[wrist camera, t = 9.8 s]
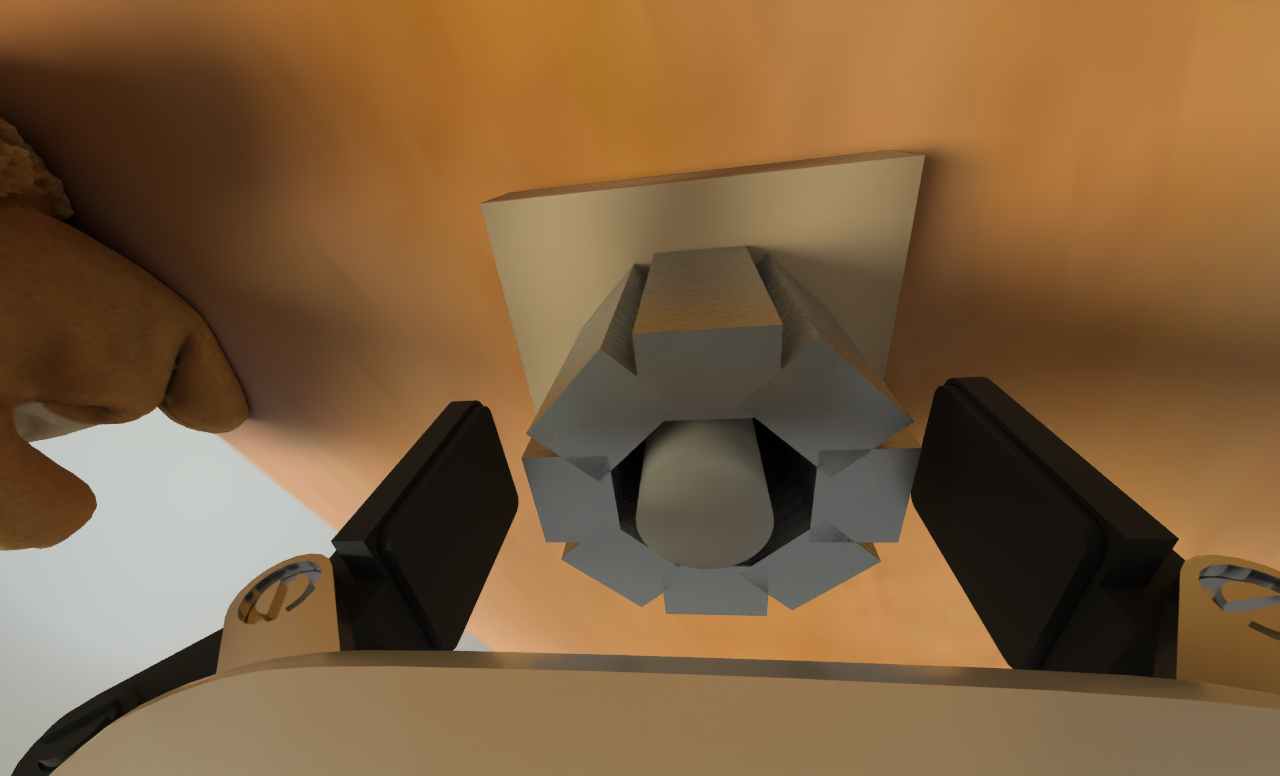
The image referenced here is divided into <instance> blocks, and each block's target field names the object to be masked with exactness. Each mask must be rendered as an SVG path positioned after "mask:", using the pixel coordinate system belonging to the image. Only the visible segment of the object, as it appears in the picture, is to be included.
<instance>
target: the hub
mask: <svg viewBox="0 0 1280 776" xmlns="http://www.w3.org/2000/svg"><path fill="white" fill-rule="evenodd" d="M737 418H752V419H753V424H754V429H755V433H756V438H757V442H758V447H759V451H760V456H761V461H762V465H763V470H764V474H765V479H766V483H767V488H768V493H769V497H770V502H771V506H772V511H773V516H774V526H773V531H772V534H771V537H770V538H769V540H768V542H767V543H766V545H765V546H764V547H763V548H762V549H761V550H760V551H759V552H758V553H757V554H755V555H754V556H753V557H751V558H749V559H747V560H746V561H743V562H741V563H739V564H736V565H733V566H729V567H724V568H717V569H696V568H689V567H685V566H681V565H677V564H674V563H672V562H670V561H667V560H665V559H664V558H662V557H660V556H659V555H657V554H656V553H654V552H653V551H652V550H651V549H650V548H649V547H648V546H647V545H646V544H645V543H644V541H643V540H642V538H641V537H640V534H639V532H638V529H637V525H636V511H637V504H638V497H639V489H640V482H641V474H642V467H643V459H644V452H645V445H646V437H647V436H648V435H649V434H651V433H652V432H653V431H654V430H655V429H656V428H657V427H658V426H659V425H660V424H661V423H662V422H663V421H679V420H708V419H737ZM913 422H914V421H913V420H912V419H911V417H910V416H909V415H908V413H907V412H906V411H905V409H904V408H903V407H902V405H901V404H900V403H899V402H898V400H897V399H896V398H895V396H894V395H893V394H892V392H891V391H890V390H889V388H888V387H887V386H886V385H885V383H884V382H883V381H882V379H881V378H880V377H879V375H878V374H877V373H876V371H875V370H874V369H873V367H872V366H871V365H870V364H869V362H868V361H867V360H866V358H865V357H864V356H863V354H862V353H861V352H860V350H859V349H858V348H857V347H856V345H855V344H854V343H853V341H852V340H851V339H850V337H849V336H848V335H847V333H846V332H845V331H844V329H843V328H842V327H841V326H840V324H839V323H838V322H837V320H836V319H835V318H834V316H833V315H832V314H831V312H830V311H829V310H828V309H827V308H826V307H825V306H824V305H823V304H822V303H821V302H820V301H819V300H817V299H816V298H815V297H814V296H813V295H812V294H811V293H810V292H809V291H808V290H807V289H806V288H805V287H804V286H802V285H801V284H800V283H799V282H798V281H797V280H796V279H795V278H794V277H793V276H792V275H791V274H790V273H789V272H788V271H786V270H785V269H784V268H783V267H782V266H781V265H780V264H779V263H778V262H777V261H776V260H775V259H774V258H773V257H771V256H770V255H769V254H768V253H767V254H766V255H765V256H764V257H763V258H762V259H761V260H760V261H759V262H758V263H757V264H756V265H754V263H753V261H752V258H751V256H750V254H749V252H748V250H747V248H746V246H745V245H744V246H732V247H720V248H708V249H696V250H684V251H673V252H661V253H654V255H653V258H652V262H651V266H650V269H649V273H648V275H647V274H646V273H644V272H643V271H642V270H641V269H640V268H638V267H637V266H636V265H635V264H633V265H632V266H631V268H630V269H629V270H628V271H627V273H626V274H625V275H624V276H623V278H622V279H621V280H620V281H619V282H618V284H617V285H616V286H615V287H614V289H613V290H612V291H611V292H610V294H609V295H608V296H607V297H606V298H605V300H604V301H603V302H602V303H601V305H600V306H599V307H598V308H597V310H596V311H595V312H594V313H593V314H592V316H591V317H590V318H589V319H588V321H587V322H586V323H585V324H584V326H583V327H582V329H581V331H580V333H579V335H578V337H577V339H576V341H575V343H574V344H573V346H572V348H571V350H570V352H569V354H568V356H567V358H566V360H565V362H564V363H563V365H562V367H561V369H560V371H559V373H558V375H557V377H556V379H555V381H554V382H553V384H552V386H551V388H550V390H549V392H548V394H547V396H546V398H545V400H544V401H543V403H542V405H541V407H540V409H539V411H538V413H537V415H536V417H535V419H534V420H533V422H532V424H531V426H530V428H529V430H528V432H527V435H529V436H530V437H532V438H531V440H530V442H529V444H528V446H527V448H526V450H525V452H524V454H523V456H522V461H523V465H524V468H525V472H526V475H527V478H528V482H529V485H530V489H531V492H532V495H533V499H534V502H535V505H536V509H537V512H538V516H539V519H540V522H541V526H542V529H543V533H544V536H545V539H546V542H566V545H565V549H564V552H563V556H562V559H561V560H563V561H565V562H567V563H568V564H570V565H572V566H573V567H575V568H577V569H578V570H580V571H582V572H583V573H585V574H587V575H588V576H590V577H592V578H594V579H595V580H597V581H599V582H600V583H602V584H604V585H605V586H607V587H609V588H610V589H612V590H614V591H616V592H617V593H619V594H621V595H622V596H624V597H626V598H627V599H629V600H631V601H632V602H634V603H636V604H637V605H639V606H641V607H643V606H644V605H646V604H647V603H649V602H650V601H652V600H653V599H654V598H656V597H657V596H659V595H660V594H662V593H663V592H664V601H665V609H666V614H704V615H749V616H767V603H768V594H769V595H770V596H772V597H773V598H775V599H776V600H778V601H779V602H781V603H782V604H784V605H785V606H787V607H788V608H790V609H791V610H794V609H795V608H797V607H799V606H801V605H803V604H804V603H806V602H808V601H810V600H812V599H814V598H815V597H817V596H819V595H821V594H823V593H825V592H826V591H828V590H830V589H832V588H834V587H835V586H837V585H839V584H841V583H843V582H845V581H846V580H848V579H850V578H852V577H854V576H855V575H857V574H859V573H861V572H863V571H865V570H866V569H868V568H870V567H872V566H874V565H876V564H877V563H879V562H881V560H880V558H879V556H878V554H877V551H876V549H875V547H874V545H873V542H898V540H899V536H900V532H901V528H902V524H903V521H904V517H905V513H906V509H907V505H908V501H909V497H910V493H911V489H912V485H913V481H914V477H915V473H916V469H917V465H918V461H919V458H920V454H921V450H922V447H921V446H920V445H919V443H918V442H917V441H916V439H915V438H914V436H913V435H912V434H911V432H910V431H909V430H908V428H907V426H908V425H910V424H911V423H913Z"/></svg>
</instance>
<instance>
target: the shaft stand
mask: <svg viewBox="0 0 1280 776" xmlns="http://www.w3.org/2000/svg"><path fill="white" fill-rule="evenodd" d="M924 159H925V155H922V154H914V153H905V152H897V151H880V152H871V153H862V154H853V155H844V156H835V157H826V158H817V159H808V160H799V161H790V162H781V163H773V164H764V165H755V166H746V167H737V168H728V169H719V170H710V171H701V172H692V173H683V174H674V175H665V176H656V177H647V178H638V179H629V180H620V181H611V182H602V183H593V184H584V185H575V186H566V187H557V188H549V189H540V190H531V191H522V192H513V193H507V194H504V195H502V196H499V197H496V198H493V199H491V200H488V201H485V202H483V203H480V206H481V210H482V214H483V217H484V221H485V225H486V229H487V232H488V236H489V240H490V244H491V248H492V251H493V255H494V259H495V263H496V266H497V270H498V274H499V278H500V281H501V285H502V289H503V293H504V297H505V300H506V304H507V308H508V312H509V315H510V319H511V323H512V327H513V330H514V334H515V338H516V342H517V346H518V349H519V353H520V357H521V361H522V364H523V368H524V372H525V376H526V379H527V383H528V387H529V391H530V395H531V398H532V402H533V406H534V410H535V413H536V415H537V413H538V411H539V409H540V407H541V405H542V403H543V401H544V400H545V398H546V396H547V394H548V392H549V390H550V388H551V386H552V384H553V382H554V381H555V379H556V377H557V375H558V373H559V371H560V369H561V367H562V365H563V363H564V362H565V360H566V358H567V356H568V354H569V352H570V350H571V348H572V346H573V344H574V343H575V341H576V339H577V337H578V335H579V333H580V331H581V329H582V327H583V326H584V324H585V323H586V322H587V321H588V319H589V318H590V317H591V316H592V314H593V313H594V312H595V311H596V310H597V308H598V307H599V306H600V305H601V303H602V302H603V301H604V300H605V298H606V297H607V296H608V295H609V294H610V292H611V291H612V290H613V289H614V287H615V286H616V285H617V284H618V282H619V281H620V280H621V279H622V278H623V276H624V275H625V274H626V273H627V271H628V270H629V269H630V268H631V266H632V265H633V264H635V265H636V266H637V267H638V268H640V269H641V270H642V271H643V272H644V273H646V274H647V275H648V273H649V269H650V266H651V262H652V258H653V255H654V253H661V252H673V251H684V250H696V249H708V248H720V247H732V246H744V245H745V246H746V248H747V250H748V252H749V254H750V256H751V258H752V261H753V263H754V265H756V264H757V263H758V262H759V261H760V260H761V259H762V258H763V257H764V256H765V255H766V254H767V253H768V254H769V255H770V256H771V257H773V258H774V259H775V260H776V261H777V262H778V263H779V264H780V265H781V266H782V267H783V268H784V269H785V270H786V271H788V272H789V273H790V274H791V275H792V276H793V277H794V278H795V279H796V280H797V281H798V282H799V283H800V284H801V285H802V286H804V287H805V288H806V289H807V290H808V291H809V292H810V293H811V294H812V295H813V296H814V297H815V298H816V299H817V300H819V301H820V302H821V303H822V304H823V305H824V306H825V307H826V308H827V309H828V310H829V311H830V312H831V314H832V315H833V316H834V318H835V319H836V320H837V322H838V323H839V324H840V326H841V327H842V328H843V329H844V331H845V332H846V333H847V335H848V336H849V337H850V339H851V340H852V341H853V343H854V344H855V345H856V347H857V348H858V349H859V350H860V352H861V353H862V354H863V356H864V357H865V358H866V360H867V361H868V362H869V364H870V365H871V366H872V367H873V369H874V370H875V371H876V373H877V374H878V375H879V377H880V378H881V379H882V381H883V382H884V381H885V375H886V370H887V364H888V359H889V353H890V348H891V342H892V337H893V331H894V325H895V320H896V314H897V309H898V303H899V298H900V292H901V287H902V281H903V275H904V270H905V264H906V259H907V253H908V248H909V242H910V237H911V231H912V226H913V220H914V214H915V209H916V203H917V198H918V192H919V187H920V181H921V176H922V170H923V165H924ZM636 525H637V529H638V532H639V534H640V537H641V538H642V540H643V541H644V543H645V544H646V545H647V546H648V547H649V548H650V549H651V550H652V551H653V552H654V553H656V554H657V555H659V556H660V557H662V558H664V559H665V560H667V561H670V562H672V563H674V564H677V565H681V566H685V567H689V568H696V569H717V568H724V567H729V566H733V565H736V564H739V563H741V562H743V561H746V560H747V559H749V558H751V557H753V556H754V555H755V554H757V553H758V552H759V551H760V550H761V549H762V548H763V547H764V546H765V545H766V543H767V542H768V540H769V538H770V537H771V534H772V531H773V526H774V516H773V511H772V506H771V502H770V497H769V493H768V488H767V483H766V479H765V474H764V470H763V465H762V461H761V456H760V451H759V447H758V442H757V438H756V433H755V429H754V424H753V419H752V418H737V419H708V420H679V421H663V422H662V423H661V424H660V425H659V426H658V427H657V428H656V429H655V430H654V431H653V432H652V433H651V434H649V435H648V436H647V437H646V445H645V452H644V459H643V467H642V474H641V482H640V489H639V497H638V504H637V511H636Z"/></svg>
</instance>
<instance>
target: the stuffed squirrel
mask: <svg viewBox="0 0 1280 776" xmlns="http://www.w3.org/2000/svg"><path fill="white" fill-rule="evenodd" d="M69 202H70V200H69V199H68V198H67V195H66V194H65V193H64V187H63V182H62V181H61V180H59V179H58V178H57V177H55V176H53V175H52V174H51V173H49V171H48V170H47V169H46V166H45V163H44V161H43V160H42V158H40V157H39V156H38V155H37V154H36V153H35V152H34V150H33V148H32V146H31V145H30V144H28V143H26V142H24V141H23V139H22V138H21V137H20V135H19V134H18V132H17V129H16V128H15V127H14V126H12V125H10V124H9V123H7V122H6V121H5V120H4V119H3V118H1V117H0V550H5V551H7V550H18V549H27V548H39V549H42V548H47V547H51V546H54V545H56V544H58V543H60V542H62V541H63V540H65V539H67V538H68V537H69V536H70V535H72V534H73V533H75V532H76V531H77V530H79V529H80V528H81V527H82V526H83V525H84V524H85V523H86V522H87V521H88V520H90V518H91V517H92V514H93V512H94V511H95V509H96V507H97V503H96V498H95V495H94V493H93V492H92V490H91V489H90V487H89V485H88V484H86V483H85V482H83V481H82V480H81V479H80V478H78V477H77V476H76V475H74V474H73V473H71V472H70V471H68V470H66V469H65V468H63V467H61V466H60V465H58V464H57V463H55V462H54V461H52V460H51V459H50V458H48V457H47V456H45V455H44V454H43V453H41V452H40V451H39V450H37V449H35V448H34V447H32V446H31V445H30V444H29V443H28V442H33V441H38V440H44V439H49V438H53V437H58V436H62V435H66V434H69V433H72V432H75V431H78V430H82V429H86V428H89V427H92V426H96V425H99V424H121V423H126V422H130V421H134V420H136V419H138V418H140V417H142V416H143V415H146V414H148V413H150V412H151V411H153V410H154V409H155V408H156V407H158V408H159V409H160V410H161V411H162V412H163V413H164V414H166V416H168V417H169V418H170V419H171V420H173V421H174V422H176V423H178V424H181V425H183V426H185V427H187V428H190V429H194V430H197V431H204V432H209V433H215V434H216V433H224V432H230V431H232V430H234V429H235V428H237V427H239V426H240V425H241V424H242V423H243V422H244V421H245V420H246V419H247V417H248V416H249V409H248V406H247V402H246V399H245V397H244V394H243V390H242V388H241V386H240V383H239V381H238V379H237V378H236V376H235V374H234V373H233V371H232V369H231V367H230V365H229V363H228V361H227V359H226V357H225V356H224V354H223V352H222V350H221V348H220V346H219V344H218V342H217V340H216V338H215V336H214V335H213V333H212V331H211V329H210V328H209V326H208V325H207V323H206V322H205V321H204V319H203V318H202V316H201V315H200V314H199V313H198V312H196V311H195V310H194V309H193V308H192V307H191V306H190V305H189V304H188V303H186V302H185V301H184V300H183V299H182V298H181V297H179V296H178V295H177V294H176V293H175V292H174V291H172V290H171V289H169V288H168V287H167V286H165V285H164V284H163V283H161V282H160V281H159V280H157V279H156V278H155V277H153V276H152V275H150V274H149V273H148V272H146V271H145V270H143V269H142V268H140V267H139V266H137V265H136V264H134V263H133V262H131V261H130V260H128V259H127V258H125V257H123V256H122V255H120V254H119V253H117V252H115V251H114V250H112V249H110V248H108V247H106V246H105V245H103V244H101V243H100V242H98V241H96V240H95V239H93V238H91V237H90V236H88V235H86V234H84V233H82V232H81V231H79V230H77V229H76V228H74V227H72V226H70V225H68V224H66V223H64V222H65V219H69V218H70V217H71V216H72V215H73V214H74V213H75V212H74V211H72V210H71V205H70V203H69Z"/></svg>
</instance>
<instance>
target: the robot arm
mask: <svg viewBox="0 0 1280 776" xmlns="http://www.w3.org/2000/svg"><path fill="white" fill-rule="evenodd" d="M911 498H912V502H913V505H914V507H915V509H916V511H917V512H918V514H919V516H920V518H921V519H922V521H923V523H924V524H925V526H926V528H927V529H928V531H929V533H930V534H931V536H932V538H933V539H934V541H935V543H936V544H937V546H938V548H939V550H940V551H941V553H942V555H943V556H944V558H945V560H946V561H947V563H948V565H949V566H950V568H951V570H952V571H953V573H954V575H955V577H956V578H957V580H958V582H959V583H960V585H961V587H962V588H963V590H964V592H965V593H966V595H967V597H968V598H969V600H970V602H971V604H972V605H973V607H974V609H975V610H976V612H977V614H978V615H979V617H980V619H981V620H982V622H983V624H984V625H985V627H986V629H987V630H988V632H989V634H990V636H991V637H992V639H993V641H994V642H995V644H996V646H997V647H998V649H999V651H1000V652H1001V654H1002V656H1003V657H1004V659H1005V660H1006V662H1007V663H1008V665H1010V666H1011V667H1012V668H1013V669H1002V668H977V667H950V666H923V665H896V664H869V663H842V662H815V661H785V660H755V659H724V658H693V657H661V656H628V655H594V654H556V653H518V652H479V651H478V652H476V651H453V650H454V649H455V648H456V646H457V644H458V642H459V640H460V638H461V636H462V634H463V631H464V629H465V627H466V625H467V622H468V620H469V618H470V616H471V613H472V611H473V609H474V607H475V604H476V602H477V600H478V598H479V595H480V593H481V591H482V589H483V586H484V584H485V582H486V580H487V577H488V575H489V573H490V571H491V568H492V566H493V564H494V562H495V559H496V557H497V555H498V553H499V550H500V548H501V546H502V544H503V541H504V539H505V537H506V535H507V532H508V530H509V528H510V526H511V524H512V521H513V519H514V517H515V515H516V512H517V509H518V495H517V491H516V488H515V485H514V482H513V479H512V476H511V473H510V470H509V467H508V463H507V460H506V457H505V454H504V451H503V448H502V445H501V442H500V439H499V436H498V432H497V429H496V426H495V423H494V420H493V417H492V414H491V411H490V409H489V408H488V407H486V406H484V407H483V405H482V404H481V403H480V402H479V401H455V402H451V403H450V404H449V405H448V406H447V407H446V408H445V409H444V411H443V412H442V413H441V414H440V415H439V416H438V418H437V419H436V420H435V421H434V422H433V423H432V425H431V426H430V427H429V428H428V429H427V430H426V432H425V433H424V434H423V435H422V436H421V437H420V438H419V440H418V441H417V442H416V443H415V444H414V445H413V447H412V448H411V449H410V450H409V451H408V452H407V454H406V455H405V456H404V457H403V458H402V459H401V461H400V462H399V463H398V464H397V465H396V466H395V468H394V469H393V470H392V471H391V472H390V473H389V474H388V476H387V477H386V478H385V479H384V480H383V481H382V483H381V484H380V485H379V486H378V487H377V488H376V490H375V491H374V492H373V493H372V494H371V495H370V497H369V498H368V499H367V500H366V501H365V502H364V504H363V505H362V506H361V507H360V508H359V509H358V511H357V512H356V513H355V514H354V515H353V516H352V517H351V519H350V520H349V521H348V522H347V523H346V524H345V526H344V527H343V528H342V529H341V530H340V531H339V533H338V534H337V535H336V536H335V537H334V538H333V540H332V541H331V542H332V544H333V545H334V547H335V548H336V551H335V553H334V554H333V555H332V556H331V557H330V558H326V557H325V556H323V555H321V554H306V555H301V556H296V557H294V558H291V559H288V560H286V561H283V562H281V563H279V564H277V565H275V566H273V567H271V568H270V569H268V570H266V571H265V572H263V573H262V574H260V575H259V576H258V577H256V578H255V579H253V580H252V581H251V582H250V583H249V584H248V585H247V586H246V587H245V588H244V589H243V590H241V591H240V593H239V594H238V595H237V596H236V598H235V599H234V600H233V602H232V603H231V605H230V606H229V609H228V611H227V614H226V616H225V621H224V628H222V629H221V630H219V631H217V632H215V633H213V634H211V635H209V636H207V637H205V638H204V639H202V640H200V641H198V642H196V643H194V644H192V645H191V646H189V647H187V648H185V649H183V650H181V651H179V652H177V653H175V654H174V655H172V656H170V657H168V658H166V659H164V660H162V661H160V662H159V663H157V664H155V665H153V666H151V667H149V668H148V669H146V670H144V671H142V672H140V673H138V674H136V675H134V676H133V677H131V678H129V679H127V680H125V681H123V682H121V683H119V684H117V685H116V686H113V687H112V688H110V689H108V690H106V691H104V692H102V693H100V694H98V695H97V696H95V697H93V698H92V699H90V700H89V701H87V702H85V703H84V704H82V705H80V706H79V707H77V708H75V709H74V710H72V711H70V712H69V713H67V714H66V715H65V716H63V717H62V718H61V719H59V720H58V721H57V722H56V723H55V724H54V725H52V726H51V727H50V728H49V729H48V730H47V731H46V732H45V733H44V735H43V736H42V737H41V738H40V739H39V740H37V741H36V742H35V743H34V744H33V746H32V747H31V748H30V749H29V750H28V752H27V753H26V754H25V755H24V757H23V758H22V759H21V760H20V762H19V763H18V764H17V766H16V768H15V769H14V771H13V773H12V775H11V776H1280V571H1278V570H1275V569H1273V568H1270V567H1268V566H1265V565H1261V564H1258V563H1254V562H1251V561H1247V560H1243V559H1240V558H1234V557H1227V556H1220V555H1204V556H1195V557H1193V558H1191V559H1189V560H1187V561H1185V560H1184V559H1183V558H1182V557H1181V556H1179V555H1178V554H1177V553H1176V552H1175V551H1174V550H1173V547H1174V546H1175V544H1176V543H1177V541H1178V540H1179V538H1177V537H1176V536H1175V535H1174V534H1173V533H1171V532H1170V531H1169V530H1168V529H1167V528H1166V527H1164V526H1163V525H1162V524H1161V523H1160V522H1158V521H1157V520H1156V519H1155V518H1154V517H1152V516H1151V515H1150V514H1149V513H1148V512H1146V511H1145V510H1144V509H1143V508H1142V507H1141V506H1139V505H1138V504H1137V503H1136V502H1135V501H1133V500H1132V499H1131V498H1130V497H1129V496H1127V495H1126V494H1125V493H1124V492H1123V491H1122V490H1120V489H1119V488H1118V487H1117V486H1116V485H1114V484H1113V483H1112V482H1111V481H1110V480H1108V479H1107V478H1106V477H1105V476H1104V475H1103V474H1101V473H1100V472H1099V471H1098V470H1097V469H1095V468H1094V467H1093V466H1092V465H1091V464H1089V463H1088V462H1087V461H1086V460H1085V459H1083V458H1082V457H1081V456H1080V455H1079V454H1078V453H1076V452H1075V451H1074V450H1073V449H1072V448H1070V447H1069V446H1068V445H1067V444H1066V443H1064V442H1063V441H1062V440H1061V439H1060V438H1059V437H1057V436H1056V435H1055V434H1054V433H1053V432H1051V431H1050V430H1049V429H1048V428H1047V427H1045V426H1044V425H1043V424H1042V423H1041V422H1040V421H1038V420H1037V419H1036V418H1035V417H1034V416H1032V415H1031V414H1030V413H1029V412H1028V411H1026V410H1025V409H1024V408H1023V407H1022V406H1020V405H1019V404H1018V403H1017V402H1016V401H1015V400H1013V399H1012V398H1011V397H1010V396H1009V395H1007V394H1006V393H1005V392H1004V391H1003V390H1001V389H1000V388H999V387H998V386H997V385H996V384H994V383H993V382H992V381H991V380H990V379H988V378H986V377H964V378H951V379H949V380H947V382H946V383H945V385H944V386H939V387H938V388H937V389H936V391H935V394H934V398H933V402H932V406H931V410H930V414H929V418H928V422H927V426H926V430H925V434H924V439H923V443H922V450H921V454H920V458H919V461H918V465H917V469H916V473H915V477H914V481H913V485H912V489H911Z"/></svg>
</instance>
